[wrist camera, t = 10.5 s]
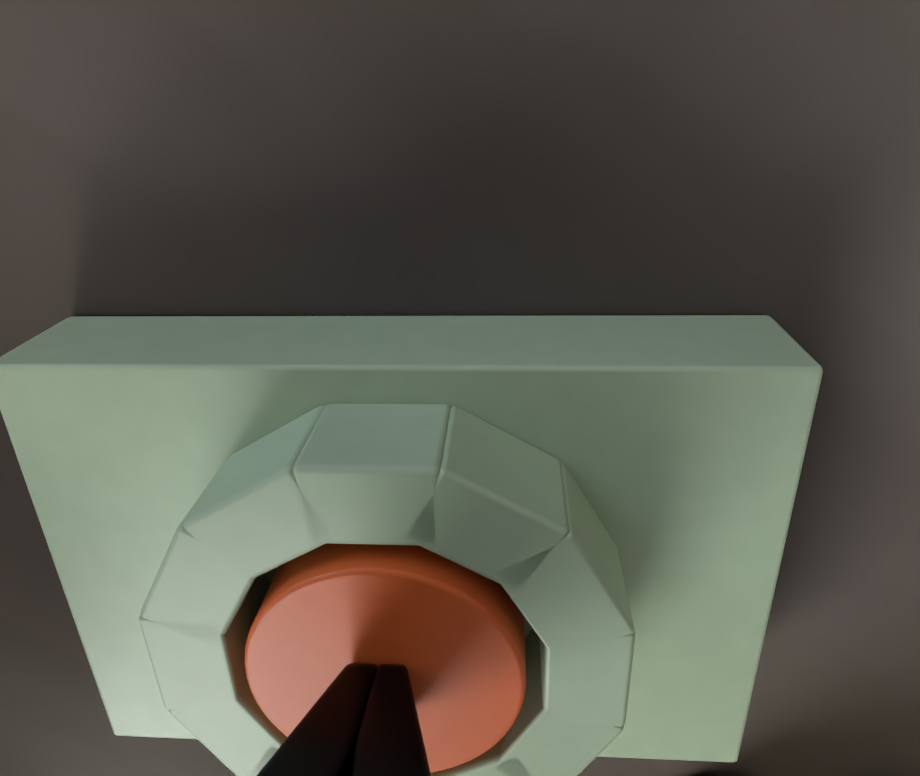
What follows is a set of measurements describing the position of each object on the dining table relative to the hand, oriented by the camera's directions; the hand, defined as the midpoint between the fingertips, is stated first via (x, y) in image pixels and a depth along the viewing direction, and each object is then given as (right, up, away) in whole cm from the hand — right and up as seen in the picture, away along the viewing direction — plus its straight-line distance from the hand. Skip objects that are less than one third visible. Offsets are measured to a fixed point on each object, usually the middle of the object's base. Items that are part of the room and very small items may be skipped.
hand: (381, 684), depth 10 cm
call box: (0, +2, +4) cm, 4 cm away
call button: (0, +1, +2) cm, 2 cm away
